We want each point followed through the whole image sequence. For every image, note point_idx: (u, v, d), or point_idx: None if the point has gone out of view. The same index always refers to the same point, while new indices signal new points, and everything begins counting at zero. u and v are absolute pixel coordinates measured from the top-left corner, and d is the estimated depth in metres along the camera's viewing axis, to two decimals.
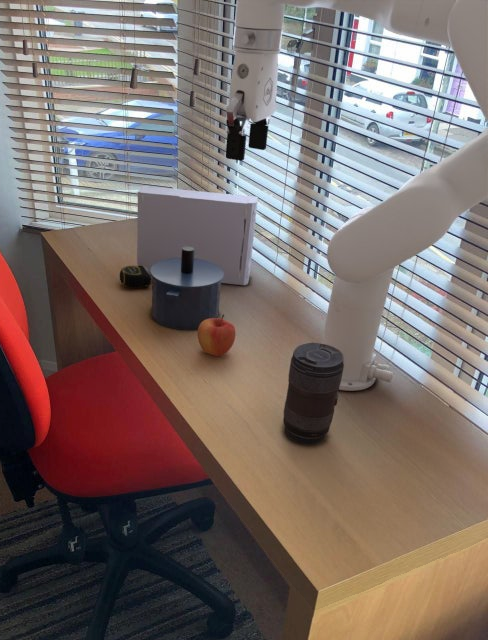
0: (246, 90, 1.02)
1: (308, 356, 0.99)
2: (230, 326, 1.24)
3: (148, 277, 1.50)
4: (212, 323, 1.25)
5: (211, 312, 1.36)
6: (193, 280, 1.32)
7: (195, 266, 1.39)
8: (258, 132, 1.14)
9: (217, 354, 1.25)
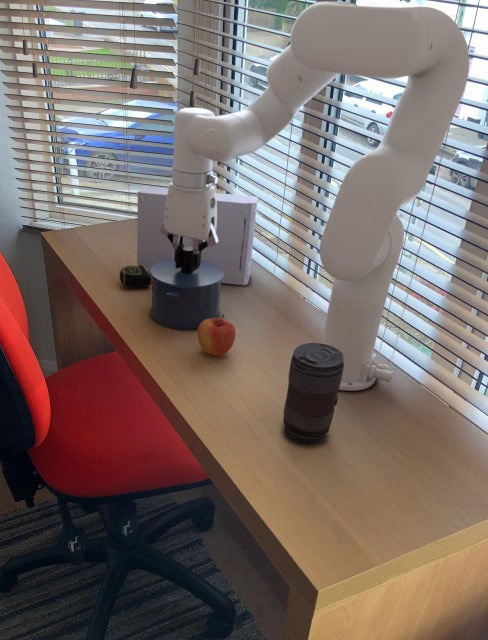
0: (215, 215, 1.28)
1: (308, 356, 0.99)
2: (230, 326, 1.24)
3: (148, 277, 1.50)
4: (212, 323, 1.25)
5: (211, 312, 1.36)
6: (193, 280, 1.32)
7: None
8: None
9: (217, 354, 1.25)
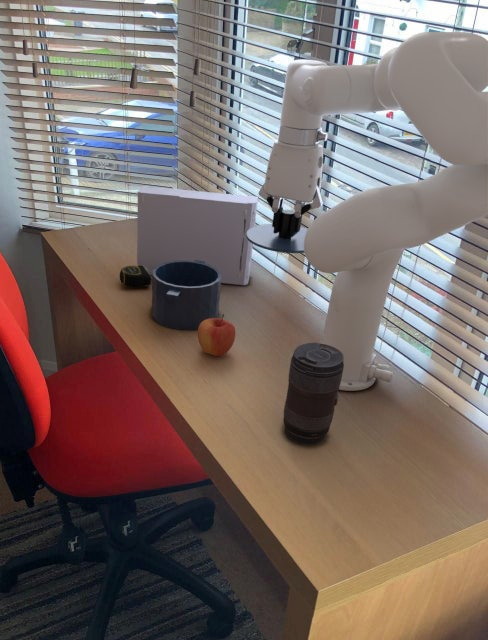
0: (320, 175, 1.22)
1: (308, 356, 0.99)
2: (230, 326, 1.24)
3: (148, 277, 1.50)
4: (212, 323, 1.25)
5: (211, 312, 1.36)
6: (294, 245, 1.26)
7: None
8: None
9: (217, 354, 1.25)
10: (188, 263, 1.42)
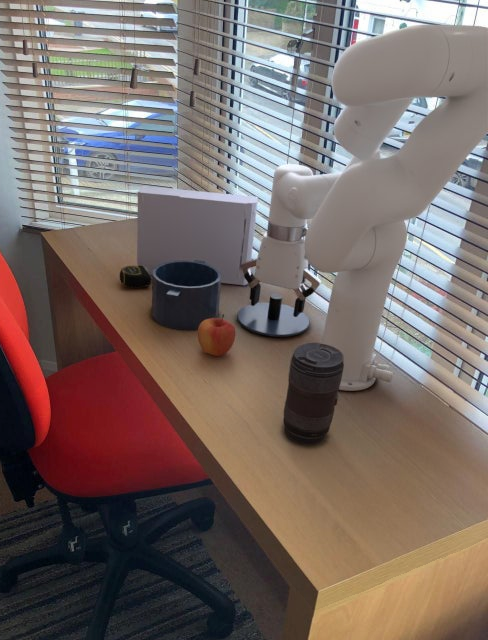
0: (307, 265, 1.32)
1: (308, 356, 0.99)
2: (230, 326, 1.24)
3: (148, 277, 1.50)
4: (212, 323, 1.25)
5: (211, 312, 1.36)
6: (281, 327, 1.36)
7: (280, 312, 1.43)
8: (258, 291, 1.39)
9: (217, 354, 1.25)
10: (188, 263, 1.42)
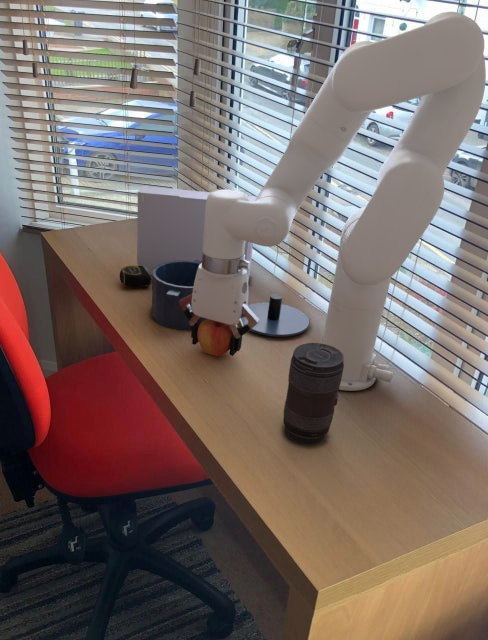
0: (246, 299, 1.20)
1: (308, 356, 0.99)
2: None
3: (148, 277, 1.50)
4: (212, 323, 1.25)
5: None
6: (281, 327, 1.36)
7: (280, 312, 1.43)
8: None
9: (217, 354, 1.25)
10: (188, 263, 1.42)
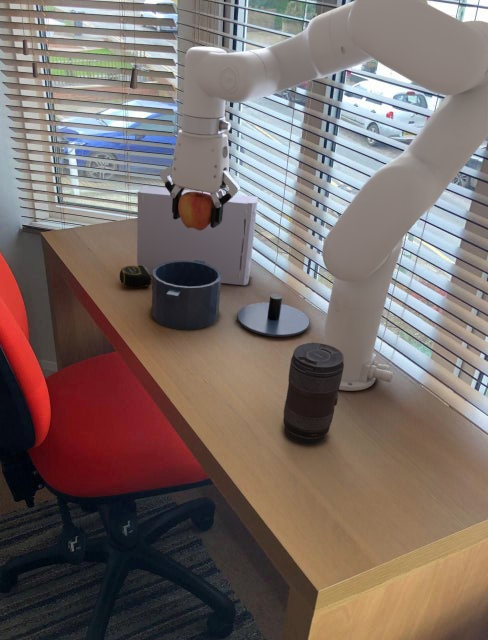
0: (227, 165, 1.19)
1: (308, 356, 0.99)
2: (210, 197, 1.23)
3: (148, 277, 1.50)
4: (193, 196, 1.24)
5: (211, 312, 1.36)
6: (281, 327, 1.36)
7: (280, 312, 1.43)
8: None
9: (198, 226, 1.25)
10: (188, 263, 1.42)
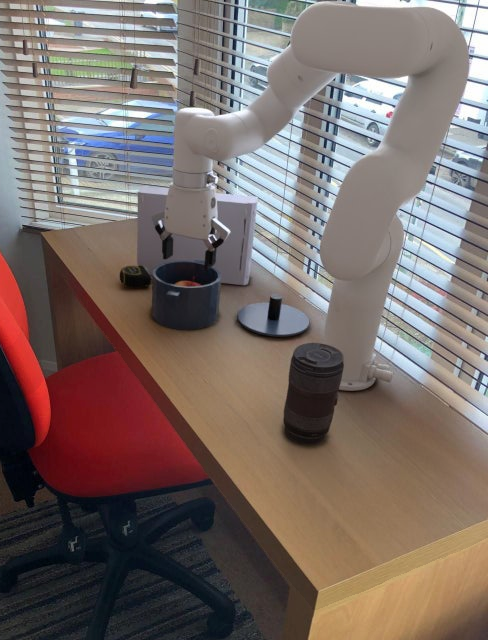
0: (215, 214, 1.28)
1: (308, 356, 0.99)
2: None
3: (148, 277, 1.50)
4: (184, 285, 1.38)
5: (211, 312, 1.36)
6: (281, 327, 1.36)
7: (280, 312, 1.43)
8: (170, 244, 1.35)
9: None
10: (188, 263, 1.42)
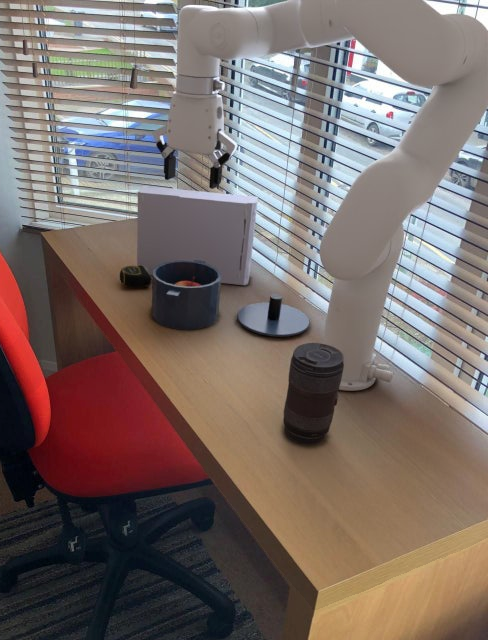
0: (221, 127, 1.19)
1: (308, 356, 0.99)
2: None
3: (148, 277, 1.50)
4: (184, 285, 1.38)
5: (211, 312, 1.36)
6: (281, 327, 1.36)
7: (280, 312, 1.43)
8: (172, 163, 1.26)
9: None
10: (188, 263, 1.42)
